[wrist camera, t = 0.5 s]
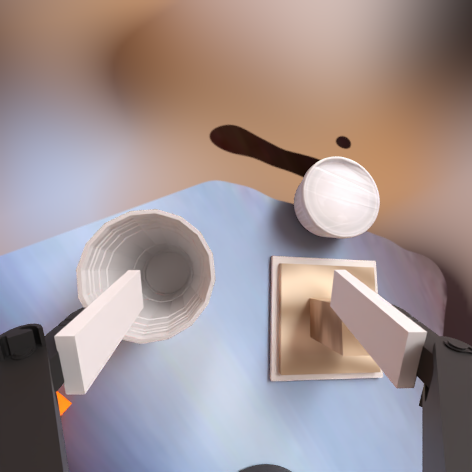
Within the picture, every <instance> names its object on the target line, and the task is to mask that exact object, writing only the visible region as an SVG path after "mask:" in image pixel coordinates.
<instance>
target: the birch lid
mask: <svg viewBox="0 0 472 472" xmlns="http://www.w3.org/2000/svg"><path fill="white" fill-rule="evenodd" d="M334 270H346V271H348V272H349V273H350V274H352V275H353V276H354V277H356V278H357V279H358V280H360V281H361V282H362V283H363V284H365V285H366V286H367V287H369V288H370V289H371V290H373V291H374V292H375V293H376V291H375V275H374V267H352V266H331V265H309V264H287V263H280V267H279V373H280V374H281V375H306V374H339V373H373V372H381V371H380V367H379V366H378V365H377V363H376V362H375V361H374V360H373V358H372V357H371V356H370V355H369V354H368V352H367V351H366V350H365V349H364V347H363V346H362V345H361V344H360V342H359V341H358V340H357V339H356V337H355V336H354V335H353V334H352V332H351V331H350V330H349V329H348V328H347V326H346V325H345V324H344V323H343V321H342V320H341V319H340V318H339V316H338V315H337V314H336V313H335V311H334V310H333V309H332V308H331V307H330V302H331V294H332V286H333V277H334Z"/></svg>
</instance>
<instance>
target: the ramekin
mask: <svg viewBox="0 0 472 472" xmlns="http://www.w3.org/2000/svg"><path fill="white" fill-rule="evenodd" d="M379 204H380V199H379V193H378V189H377V186H376V184H375V182H374V180H373V178H372V177H371V176H370V174H369V173H368V172H367V171H366V170H365V169H364V168H363V167H362V166H361V165H359V164H358V163H356V162H355V161H353V160H350V159H348V158H344V157H328V158H324V159H322V160H320V161H318V162H317V163H315V164H314V165H313V166H312V167H311V168H310V169H309V170H308V171H307V172H306V174H305V176H304V178H303V180H302V182H301V184H300V185H299V187H298V189H297V190H296V194H295V198H294V208H295V213H296V216H297V218H298V220H299V221H300V223H301V224H302V225H303V226H304V227H305V228H306V229H307V230H308V231H310V232H311V233H313V234H315V235H317V236H321V237H333V238H341V239H344V238H351V237H355V236H358V235H360V234H362V233H364V232H365V231H366V230H368V229H369V228H370V226H371V225H372V224H373V223H374V221H375V219H376V217H377V214H378V211H379Z"/></svg>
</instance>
